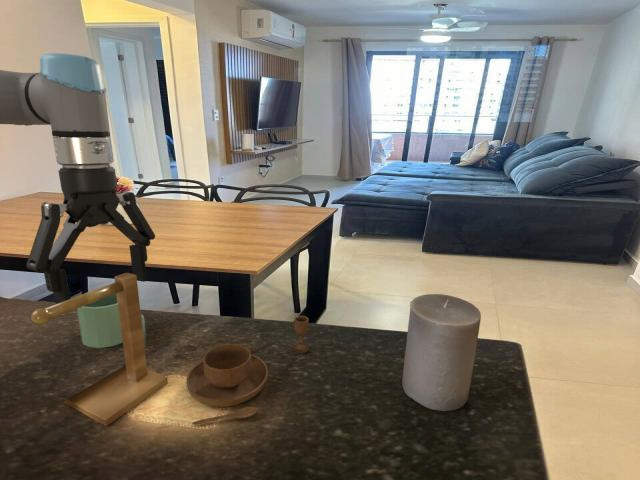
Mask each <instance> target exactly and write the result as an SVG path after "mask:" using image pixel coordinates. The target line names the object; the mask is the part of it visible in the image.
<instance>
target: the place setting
mask: <svg viewBox="0 0 640 480" xmlns="http://www.w3.org/2000/svg"><path fill="white" fill-rule="evenodd" d="M309 322H310V321H309V317H307V316H306V315H298V316H295V318H294V323H293V324H294V327H293V328H294V332H295V334H297V335H298V339H297V342H298V343H297V344H295V345H294V346H293V347H292V349H293V352H294V353H297V354H305V353H308V352H309V351H310V347H309V345H307V344H305V339H304V336H305V335H306V334H307V333H308V331H309V325H310V323H309ZM261 349H263V344H262V343H260V344H257V345H253V346H251V347H246V346H245V345H242V344H239V343H225V344H219V345H217V346H214V347H211V348H210V349H208V350H207V351H206V352H205V354H204V355H203V358H202V360H200V361H199V362H197V363H195V365H194V366H192V367H191V369H189V372H188V373H187V375H186V379H185V380H186V381H185V382H186V383H185V384H186V388H187V391H188V393H189V394H190V396H191V397H192V398H193V399H194V400H195V401H197V402H199V403H201V404H203V405H205V406H210V407H215V408H216V407H218V408H219V407H220V408H221V407H222V408H223V407H224V408H225V407H231V406H236V405H237V406H238V405H240V404H243V403H245V402H247V401H249V400H251V399H253V398H255V397H256V396H257V395H258V394H260V392H262V390H263V389H264V387H265V386H266V384H267V383H268V379H269V369H268V365H267V364H266V362H265V361H264V360H263V359H262V358H260V357H258V356H257V355H255V354H252V352H255V351H257V350H261ZM258 412H259V408H258V407H256V406H245V407H244V406H243V407H241V408H239V409H237V410H236V411H234V412H231V413H227V414H223V415H218V416H213V417H208V418H203V419H199V420H195V421H193V422H192V423H191V425H193V426H194V425H200V424H201V425H202V424H207V423H210V422H213V421H214V422H215V421H217V420H222V419H223V420H224V419H228V418H235V419H238V420H239V419H240V420H241V419H248V418H251V417H253V416H255V415H256V414H257V413H258Z"/></svg>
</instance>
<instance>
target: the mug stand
mask: <svg viewBox="0 0 640 480" xmlns="http://www.w3.org/2000/svg"><path fill="white" fill-rule="evenodd" d="M138 286H139V285H138V280H137V276H136V275H134V274H133V273H130V272H124V273H122V274H118V275H116V276H114V282H113V283H110V284H107V285H104V286H102V287H100V288H97V289H93V290H94V291H93V290H90V291H91V292H90V291H87V292H88V293H87V292H85V293H83V294H80V295H77V296H74V297H72V298H70V299H69V300H66V301H64V302H61V303H58V304H56V303H55V304H53V305H50V306H48V307H45V308H44V307H43V308H37V309H35V310H33V311H32V313H31V315H30V320H31V322H32V323H33V324H35V325H44V324H46V323H48V322H49V321H50V320H53V319H54V318H57V317H60V316H62V315H64V314H67V313H70V312H73V311H75V310H76V309H78V308H80V307H83V306H85V305H88V304H90V303H93V302H95V301H98V300H100V299H103V298H105V297H108V296H111V295H113V294H117V301H118V309H119V317H120V324H121V332H122V339H123V343H122V346H123V353H124V361H125V365H123V366H121V367H120V368H118V369H117V370H115V371H113V372H112V373H110V374H108V375H107V376H104V377H103V378H101V379H99V380H98V381H96V382H94V383H92V384H91V385H89V386H88V387H86V388H84V389H82V390H80V391H79V392H77V393H76V394H74V395H72V396H71V397H69V398H67V399H65V400H63V401H62V403H63V404H65V405H66V406H68V407H70V408H72V409H73V410H75V411H77V412H79V413H81V414H82V415H84V416H86V417H88V418H90V419H92V420H94V421H95V422H98V423H99V424H101V425H103V426H104V427H108V426H109V425H110V424H112V423H113V422H115V421H116V420H118V419H119V418H120V417H122V416H123V415H124V414H126V413H127V412H129V411H130V410H132V409H134V408H135V407H136V406H137V405H139V404H140V403H142V402H143V401H144V400H146V399H147V398H148V397H151V395H154V393H156V392H157V391H158V390H160V389H161V388H163V387H164V386H166V385H167V384H168V383H169V378H168V376H165V375H163V374H161V373H158V372H155V371H154V370H151V369H149V368H148V367H147V366H148V365H147V356H146V347H144V338H143V329H142V321H141V315H142V312H141V303H140V295H139V287H138Z"/></svg>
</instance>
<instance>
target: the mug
mask: <svg viewBox="0 0 640 480" xmlns="http://www.w3.org/2000/svg"><path fill="white" fill-rule="evenodd" d="M94 290H95V289H93V290H89V291H87V292H86V293H88V292H91V291H94ZM75 310H76V316H77V323H78V329H79V335H80V341H81V343H82V345H83V346H86V347H89V348H96V349H101V348H109V347H114V346H117V345H120V344H123V339H122V332H121V324H120V317H119V309H118V301H117V294H113V295H111V296H108V297H105V298H103V299H100V300H98V301H95V302H93V303H90V304H88V305H85V306H83V307H80V308H78V309H75ZM141 321H142V329H143V338H144V347H145V348H147V346H148V342H147V332H146V323H145V316H144V315H143V314H141Z"/></svg>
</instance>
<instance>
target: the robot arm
mask: <svg viewBox="0 0 640 480" xmlns="http://www.w3.org/2000/svg"><path fill="white" fill-rule="evenodd" d="M39 66H40V67H39V72H18V71H12V70H11V71H10V70H3V69H0V125H12V126H27V127H28V126H50V128H51V136H52V140H53V149H54V154H55V160H56V163H57V165H60V166H61V167H60V168H59V169H58V170H57V171H58V177H59V183H60V189H61V192H62V194H63V201H62V202H60V203H59V202H58V203H56V202H55V203H53V202H47V201H45V202H42V203H41V204H40V212H41V219H40V222H39V224H38V225H39V226H38V227H37V231H36V235H35V238H34V241H33V244H32V245H31V246H32V247H31V249H30V251H29V255H28V258H27V262H26V265H25V266H26V268H27V269H28V270H31V271H34V272H38V273H42V272H43V276H44V281H45V285H46V290H48V291H49V292H50V293H53V295H54V301H55V304H58V303H61V302H64V301H66V300H69V299H71V293H70V288H69V283H68V276H67V271H66V269H63V268H61V267H62V265H63V263H64V262H65V260H66V258H67V256H69V253H70V252H71V250H72V248H73V246H74V245H75V243H76V242H77V240H78V238H79V236H80V235H81V234H82V233H83V232H84V231H85V230H86V229H87V228H94V227H96V226H99V225H107V224H109V223H110V224H111V225H112V226H114V227H115V228H116V229H117V230H118V231H119V232H120V233H121V234H122V235H124V236H125V237H126V238H127V239H128V240H129V241H130V242H132V244H130V245H129V246H128V247H129V255H130V263H131V270H132V274H134V275H136V276H137V282H142V283H145V282H147V281H148V278H147V267H146V262H148V251H147V247H150V246H151V241H153V240H154V239H155V238H156V234H155V232H154V231H153V229H152V228H151V226H150V224H149V222H148V220H147V219H146V218H145V215H144V213H143V212H142V211H141V208H140V207H139V206H138V204H137V199H136V195H135V193H134V192H133V191H123V190H121V191H120V192H118V193H117V191H116V190H117V189H118V181H117V174H116V168H114V166H111V164H113V163H114V162H115V161H114V152H113V146H112V145H113V144H112V138H111V129H110V121H109V113H108V104H107V96H106V92H107V89H106V87H105V86H106V85H105V82H104V78H103V72H102V67H101V65H100V64H99V62H98V61H97V60H95V59H93V58H92V57H89V56H84V55H78V54H71V53H61V52H60V53H59V52H58V53H56V52H53V53H51V52H49V53H44V54H43V55H42V56H40V57H39ZM119 205H120V206H121V208H122V210H123V211H124V212H125V214H126V215H127V217H128V219H129V220H130V222H131V223H132V225H131V223H129V222H128V221H127V220H126V219H125V216H124V215H122V214H121V213H120V212H119V211H118V210H117V209H118V206H119ZM64 213H66V215H67V217H66V219H65V220H64V223H63V225H62V226H63V228H62V230H61V231H60V232H59V235H58V236H57V233H58V230H59V227H60V224H61V218H62V217H64V215H65V214H64ZM56 237H57V238H56Z"/></svg>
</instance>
